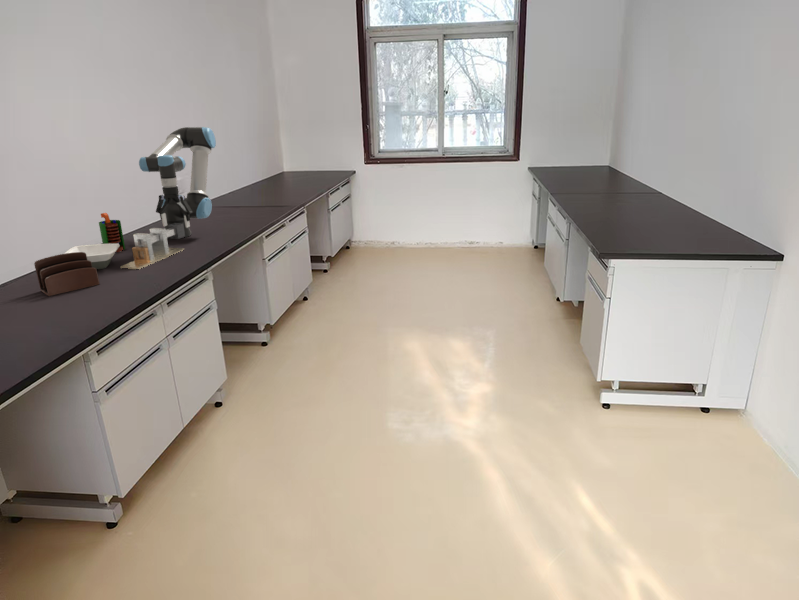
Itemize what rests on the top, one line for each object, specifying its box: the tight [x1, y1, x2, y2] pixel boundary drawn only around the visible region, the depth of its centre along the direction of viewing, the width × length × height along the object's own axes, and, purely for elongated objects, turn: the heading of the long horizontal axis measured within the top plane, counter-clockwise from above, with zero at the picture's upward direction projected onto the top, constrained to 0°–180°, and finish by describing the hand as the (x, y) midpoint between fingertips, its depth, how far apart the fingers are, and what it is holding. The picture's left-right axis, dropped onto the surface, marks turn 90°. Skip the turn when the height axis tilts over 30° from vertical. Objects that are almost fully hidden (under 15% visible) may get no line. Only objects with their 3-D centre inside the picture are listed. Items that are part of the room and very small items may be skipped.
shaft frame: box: [120, 227, 185, 270], centre depth 267 cm, size 10×36×14 cm, turn 167°
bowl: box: [63, 243, 120, 270], centre depth 256 cm, size 22×23×8 cm
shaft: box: [141, 223, 186, 245], centre depth 275 cm, size 5×30×7 cm, turn 167°
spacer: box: [131, 246, 150, 263], centre depth 260 cm, size 7×2×7 cm, turn 80°
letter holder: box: [33, 252, 101, 297], centre depth 226 cm, size 10×20×14 cm, turn 138°
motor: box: [98, 212, 126, 253], centre depth 281 cm, size 10×9×20 cm
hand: (176, 226), depth 285 cm, fingers open, 13 cm apart
